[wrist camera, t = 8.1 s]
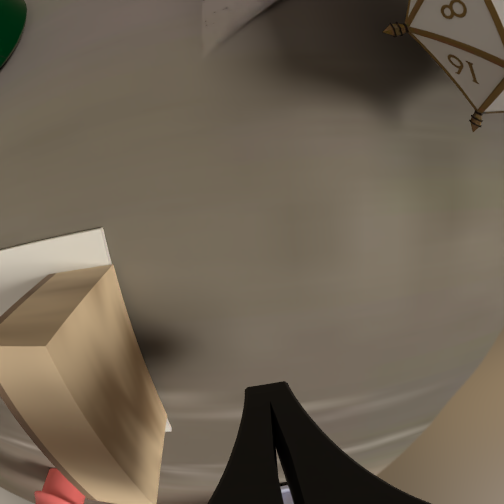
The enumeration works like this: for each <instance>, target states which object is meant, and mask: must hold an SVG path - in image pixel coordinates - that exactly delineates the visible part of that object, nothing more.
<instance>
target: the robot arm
mask: <svg viewBox="0 0 504 504" xmlns="http://www.w3.org/2000/svg"><path fill="white" fill-rule="evenodd" d="M276 449H277V453H278V456H279V459H280V462H281V465H282V468H283V471H284V475H285V478H286V481H287V484H288V485H285V486H280V483H279V479H278V469H277V457H276ZM208 504H431V503H428V502H426V501H423V500H421V499H418V498H415V497H414V496H411V495H409V494H407V493H405V492H403V491H401V490H399V489H397V488H395V487H393V486H391V485H390V484H388V483H387V482H385V481H383V480H382V479H380V478H379V477H377V476H375V475H374V474H372V473H371V472H369V471H368V470H366V469H365V468H363V467H362V466H361V465H359V464H358V463H357V462H355V461H354V460H353V459H352V458H351V457H349V456H348V455H347V454H346V453H345V452H343V451H342V450H341V449H340V448H339V447H338V446H337V445H336V444H335V443H334V442H333V441H332V440H331V439H330V438H329V437H328V436H327V435H326V434H325V433H324V432H323V431H322V430H321V429H320V428H319V427H318V426H317V424H316V423H315V422H314V421H313V420H312V419H311V417H310V416H309V415H308V414H307V412H306V411H305V410H304V409H303V407H302V406H301V404H300V403H299V402H298V400H297V399H296V397H295V396H294V394H293V392H292V391H291V389H290V387H289V385H288V383H286V382H284V381H283V382H278V383H272V384H266V385H259V386H253V387H248V388H246V389H245V401H244V409H243V414H242V419H241V423H240V427H239V431H238V435H237V438H236V441H235V444H234V447H233V450H232V453H231V456H230V459H229V461H228V464H227V466H226V468H225V471H224V473H223V475H222V477H221V479H220V482H219V484H218V486H217V488H216V489H215V491H214V493H213V495H212V497H211V499H210V500H209V502H208Z"/></svg>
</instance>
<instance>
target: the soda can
mask: <svg viewBox="0 0 504 504" xmlns="http://www.w3.org/2000/svg"><path fill="white" fill-rule="evenodd" d="M26 13H27V8H26V3H25V1H24V0H0V68H1V67H2V66H3V65H4V64H5V62H6V61H7V60H8V59H9V57H10V56H11V54H12V53H13V52H14V50H15V48H16V46H17V45H18V43H19V41H20V38H21V36H22V33H23V30H24V27H25V22H26Z"/></svg>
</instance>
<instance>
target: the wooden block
mask: <svg viewBox="0 0 504 504" xmlns="http://www.w3.org/2000/svg"><path fill="white" fill-rule="evenodd" d="M0 396H1V398H2V399H3V401H4V402H5V404H6V405H7V407H8V408H9V410H10V411H11V413H12V414H13V415H14V417H15V418H16V420H17V421H18V422H19V424H20V425H21V426H22V428H23V429H24V430H25V432H26V433H27V434H28V435H29V437H30V438H31V439H32V440H33V442H34V443H35V444H36V445H37V447H38V448H39V449H40V450H41V451H42V452H43V454H44V455H45V456H46V457H47V458H48V459H49V460H50V462H51V463H52V464H53V465H54V466H55V467H56V468H57V469H58V470H59V471H60V472H61V473H62V474H63V475H64V477H65V478H66V479H67V480H68V481H69V482H70V483H71V484H72V485H74V486H75V487H76V488H77V489H78V490H79V491H80V492H81V493H82V494H83V495H84V496H85V497H86V498H87V499H90V500H96V501H102V502H108V503H115V504H157V494H158V485H159V476H160V467H161V459H162V451H163V443H164V435H165V428H166V421H167V414H166V412H165V410H164V408H163V405H162V403H161V401H160V398H159V396H158V394H157V391H156V389H155V387H154V384H153V382H152V379H151V377H150V374H149V372H148V369H147V367H146V364H145V362H144V359H143V356H142V354H141V351H140V348H139V345H138V343H137V340H136V337H135V334H134V331H133V328H132V325H131V322H130V319H129V316H128V313H127V310H126V307H125V304H124V300H123V297H122V294H121V290H120V287H119V283H118V280H117V276H116V273H115V269H114V265H113V264H111V265H105V266H98V267H92V268H85V269H79V270H72V271H66V272H60V273H53V274H48V275H47V276H46V277H45V278H43V279H42V280H41V281H40V282H39V283H38V284H36V285H35V286H34V287H33V288H32V289H30V290H29V291H28V292H27V293H26V294H25V295H24V296H22V297H21V298H20V299H19V300H18V301H17V302H16V303H15V304H13V305H12V306H11V307H10V308H9V309H8V310H7V311H6V312H5V313H4V314H2V315H1V316H0Z"/></svg>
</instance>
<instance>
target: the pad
mask: <svg viewBox="0 0 504 504" xmlns="http://www.w3.org/2000/svg"><path fill="white" fill-rule="evenodd" d="M111 264H112V263H111V259H110V255H109V251H108V247H107V243H106V239H105V234H104V230H103V227H102V228H97V229H92V230H87V231H82V232H77V233H72V234H67V235H63V236H58V237H53V238H49V239H44V240H40V241H35V242H31V243H27V244H23V245H18V246H14V247H10V248H6V249H2V250H0V316H1V315H2V314H4V313H5V312H6V311H7V310H8V309H9V308H10V307H11V306H12V305H13V304H15V303H16V302H17V301H18V300H19V299H20V298H21V297H22V296H24V295H25V294H26V293H27V292H28V291H29V290H30V289H32V288H33V287H34V286H35V285H36V284H38V283H39V282H40V281H41V280H42V279H43V278H45V277H46V276H47V275H48V274H53V273H60V272H66V271H72V270H79V269H85V268H92V267H98V266H105V265H111ZM171 429H172V427H171V425H170V423H169V421H168V419H167V421H166V428H165V432H168V431H171Z"/></svg>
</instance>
